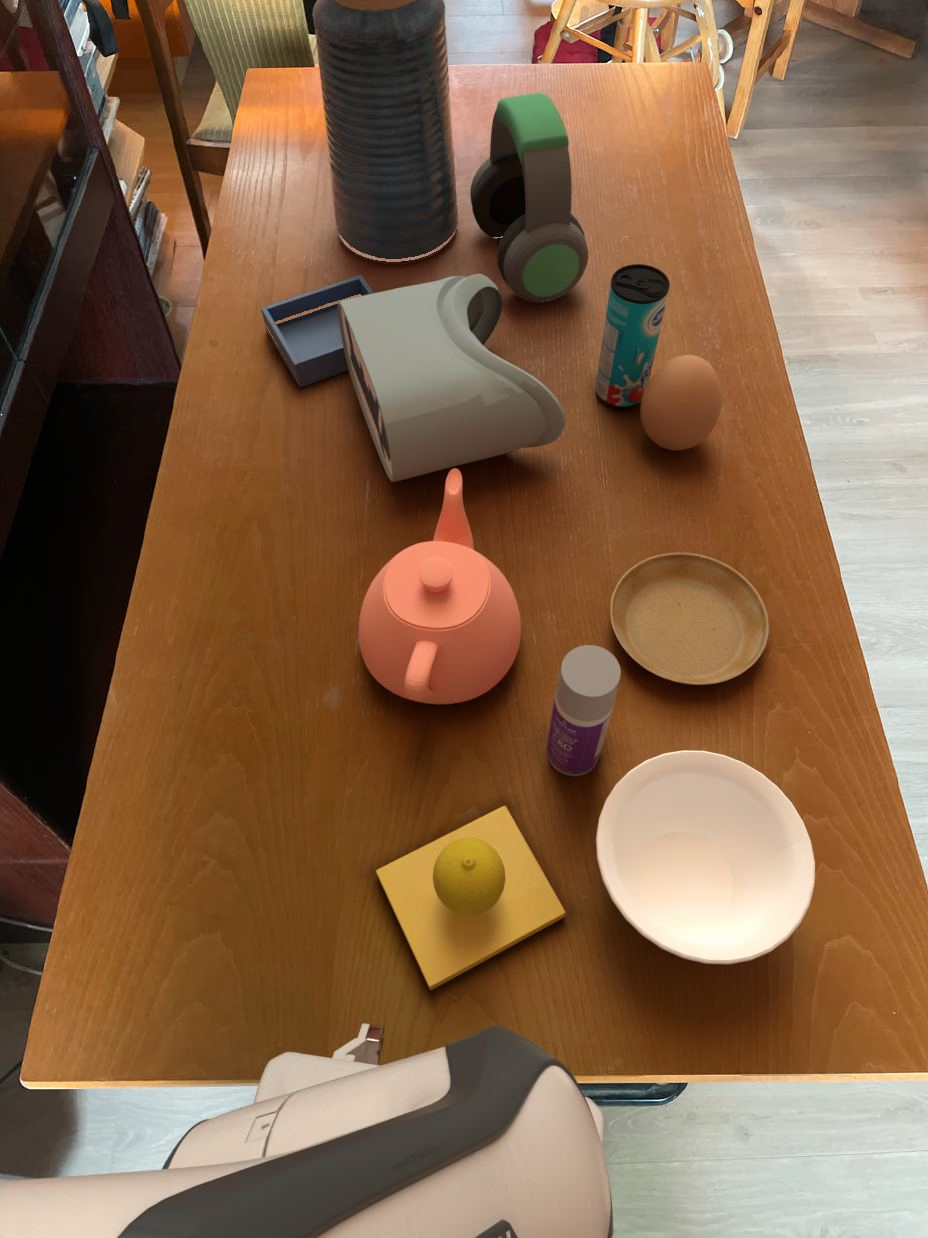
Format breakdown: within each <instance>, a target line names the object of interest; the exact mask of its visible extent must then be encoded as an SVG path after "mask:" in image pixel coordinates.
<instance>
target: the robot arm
mask: <svg viewBox="0 0 928 1238" xmlns="http://www.w3.org/2000/svg"><path fill="white" fill-rule="evenodd" d="M384 1034H385V1026H383V1025H378V1024H371V1023H365V1022H362V1024H361V1026H360V1028H359V1032H358V1035H357V1037H355V1038H353V1039H352V1040H350V1041H348V1042H347V1043H346V1044H344V1045H343V1046H341V1047H339V1048H338V1049H336V1050H335V1051H334V1052H333V1055H332V1057H326V1056H319V1055H313V1054H307V1053H302V1052H295V1051H285V1052H283V1053H281V1054H279V1055H277V1056H275V1057H273V1058H271V1059H270V1060H269V1061H268V1062H267V1064H266V1065H265V1066H264V1070H263V1072H262V1074H261V1077H260V1080H259V1082H258V1086H257V1089H256V1092H255V1095H254V1100H253V1103H252V1104H248V1105H245V1106H242V1107H239V1108H235V1109H233V1110H230V1111H228V1112H224V1113H222V1114H219V1115H217V1116H214V1117H212V1118H206V1119H203V1120H201V1121H199V1122H197V1123H195V1124H194V1125H192V1126H191V1127H190V1128H189V1129H188V1130H187V1131H186V1132H185V1133H184V1134H183V1135H182V1137H181V1138H180V1140H179V1141H178V1142H177V1144H175V1146H174V1148H173V1149H172V1150H171V1152H170V1154H169V1155H168V1156H167V1158H166V1160H165V1162H164V1164H163V1166H162V1168H161V1169H152V1170H135V1171H121V1172H110V1173H108V1172H107V1173H96V1174H82V1175H67V1176H56V1177H55V1176H54V1177H42V1178H41V1177H40V1178H27V1179H25V1178H24V1179H12V1180H11V1179H10V1180H0V1238H613V1235H614V1232H615V1231H614V1230H615V1228H614V1227H615V1225H614V1211H613V1202H612V1192H611V1191H612V1190H611V1183H610V1182H611V1181H610V1177H609V1171H608V1166H607V1161H606V1160H607V1159H606V1157H605V1151H604V1140H605V1115H604V1112H603V1110H602V1109H601V1108H600V1107H599V1106H598V1104H596V1103H595V1102H594V1101H593V1100H592V1099H591V1098H590V1097H587V1096H585V1094H584V1092H583V1090H582V1088H581V1087H580V1085H579V1083H578V1081H577V1080H576V1078H575V1076H574V1074H573V1073H572V1072H571V1071H570V1069H568V1067H567V1066H566V1065H565V1064H564V1063H563V1062H562V1061H560V1060H559V1059H558V1058H557V1057H555V1056H553V1055H552V1054H551V1053H550V1052H549V1051H547V1050H545V1049H544V1048H543V1047H541V1046H540V1045H538V1044H536V1043H535V1042H533V1041H531V1040H530V1039H529V1038H526V1037H524V1036H523V1035H520V1034H518V1033H517V1032H515V1031H513V1030H511V1029H508V1028H506V1027H504V1026H501V1025H499V1024H493V1025H490V1026H488V1027H485V1028H483V1029H479V1030H477V1031H475V1032H472V1033H469V1034H466V1035H464V1036H461V1037H458V1038H456V1039H453V1040H451V1041H447V1042H445V1046H442V1047H439V1048H434V1049H431V1050H428V1051H425V1052H421V1053H418V1054H414V1055H411V1056H408V1057H405V1058H401V1059H397V1060H395V1061H392V1062H388V1063H384V1064H381V1065H380V1064H379V1062H380V1059H381V1055H382V1051H383V1046H384V1040H385V1038H384Z"/></svg>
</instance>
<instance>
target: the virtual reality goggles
mask: <svg viewBox="0 0 928 1238" xmlns="http://www.w3.org/2000/svg"><path fill="white" fill-rule="evenodd" d="M337 309H338V319H339V326H340V332H341V338H342V343H343V348H344V352H345V356H346V360H347V364H348V368H349V370H348V371H349V375H350V379H351V381H352V386H353V388H354V391H355V394H356V397H357V400H358V403H359V405H360V409H361V411H362V414H363V417H364V419H365V422H366V425H367V427H368V431H369V433H370V436H371V439H372V441H373V444H374V447H375V449H376V452H377V454H378V457H379V459H380V462H381V464H382V467H383V469H384V471H385V473H386V475H387V478H388V479H389V481H390V482H391V483H396V482H399V481H404V480H408V479H411V478H414V477H419V476H422V475H426V474H430V473H433V472H438V471H441V470H445V469H449V468H454V467H458V466H461V465H466V464H470V463H473V462H474V463H475V462H478V461H483V460H485V459H489V458H493V457H497V456H501V455H504V454H507V453H508V454H509V453H510V452H514V451H518V450H520V449H524V448H525V449H526V448H535V447H536V448H537V447H542V446H545V445H549V444H552V443H554V442H555V441H557V440H558V439H559V438H560V437H561V435H562V433H563V431H564V428H565V426H566V415H565V411H564V409H563V407H562V404H561V403H560V401H559V400H558V398H557V397H556V396H555V395H554V393H553V392H552V391H551V390H550V389H549V388H548V387H547V386H546V385H545V384H544V383H543V382H542V381H540V379H538V378H537V377H534V376H533V375H532V374H530V373H529V372H527V371H525V370H523V369H522V368H520V367H519V366H516V365H514V364H513V363H511V362H509V361H507V360H506V359H503V358H502V357H500V356H498V355H497V354H495V353H493V352H491V351H490V350H488V348H486V347H485V345H486V343H487V342H488V340H489V339H490V337H491V336H492V334H493V332H494V330H495V328H496V327H497V325H498V323H499V321H500V318H501V315H502V311H503V298H502V295H501V293H500V291H499V289H498V287H497V285H496V283H494V282H493V281H492V280H491V279H490V278H489V277H488V276H486V275H484V274H482V273H474V274H471V275H469V276H463V275H454V276H448V277H444V278H442V279H438V280H435V281H430V282H423V283H418V284H413V285H408V286H401V287H397V288H393V289H387V290H383V291H379V292H374V293H373V294H369V295H364V296H359V297H355V298H350V299H346V300H341V301H338V306H337Z"/></svg>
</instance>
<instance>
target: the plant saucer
mask: <svg viewBox="0 0 928 1238" xmlns="http://www.w3.org/2000/svg"><path fill="white" fill-rule="evenodd" d="M768 615H769V613H768V611H767V608H766V606H765V603H764V601H763V599H762V597H761V595H760V594H759V592H758V591H757V589H756V588H755V587H754V585H753V584H752V583H751V582H750V581H749V580H748V579H747V578H746V577H745V576H744V574H741V572H738V571H737V570H736V569H735V568H734V567H732V566H730V565H728V564H726V563H724V562H723V561H720V560H718V559H716V558H713V557H711V556H708V555H703V554H698V553H695V552H694V553H693V552H667V553H661V554H657V555H654V556H650V557H647V558H646V559H644V560H641V561H639V562H638V563H636V564H634V565H633V566H632V567H630V568H629V569H628V570H627V571H626V572H625V573H624V574H623V575H622V576H621V578H620V579H619V580H618V582H617V583H616V586H615V587H614V589H613V592H612V594H611V598H610V604H609V616H610V618H609V619H610V623H611V627H612V629H613V632H614V634H615V637H616V639H617V641H618V642H619V644H620V646H621V647H622V649H623V650H624V651H625V652H626V653H627V655H629V657H631V659H632V660H633V661H635V662H636V663H637V664H638V665H639V666H641V667H642V668H644V669H645V670H647V671H648V672H650V673H652V674H654V675H656V676H658V677H660V678H662V679H665V680H668V681H671V682H676V683H679V684H685V685H697V686H701V685H702V686H704V685H705V686H706V685H715V684H718V683H723V682H727V681H729V680H732V679H735V678H736V677H739V676H740V675H742V674H743V673H745V672H746V671H748V670H749V669H750V668H751V667H752V666H753V665H754V664H756V662H757V661H758V659H759V658H760V657H761V656H762V654H763V652H764V650H765V649H766V646H767V643H768V639H769V633H770V625H769V623H770V622H769V616H768Z"/></svg>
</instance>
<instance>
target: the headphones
mask: <svg viewBox="0 0 928 1238" xmlns="http://www.w3.org/2000/svg"><path fill="white" fill-rule="evenodd" d="M498 100H499V99H498ZM569 144H570V142H569V137H568V132H567V128H566V126H565V123H564V121H563V118H562V116H561V114H560V112H559V110H558V108H557V107H556V105H555V104H554V101H552V99H551V98H550V97H549V96H548V95H547V94H545V93H543V92H533V93H527V94H521V95H515V96H509V97H503V98H501V99H500V100H499V101H498V102H497V105H496V109H495V111H494V113H493V118H492V123H491V130H490V144H489V145H490V146H489V157H488V158H487V159H486V160H485V161H484V162H483V163H482V164H481V165H480V166H479V168H478V169H477V171H476V172H475V174H474V175H473V178H472V181H471V184H470V193H469V196H470V204H471V208H472V214H473V216H474V219H475V221H476V224H477V225H478V227H479V229H480V230H481V231H482V232H483V233H484V234H485V235H486V236H488V237H490V238H491V237H501V236H503V237H502V238H497V239H496V240H497V241H499V244H498V247H497V253H496V254H497V255H496V263H497V268H498V270H499V273H500V276H501V277H502V279H503V281H504V282H505V284H506V285H507V286H509V288H510V289H511V291H512V292H513V293H514V294H515V295H516V296H517V297H518V298H520V299H522V300H524V301H527V302H530V303H531V302H532V303H547V302H551V301H555V300H557V299H559V298H561V297H563V296H565V295H566V294H568V293H569V292H570V291H572V290H573V289H574V288H575V287H576V285H577V284H578V283H579V282H580V280H581V279H582V277H583V275H584V273H585V271H586V269H587V266H588V262H589V248H588V244H587V243H588V242H587V240H586V237H585V232H584V230H583V228H582V225H581V224H580V222H579V220H578V219H577V218H576V217H575V216H574V215H573V214H572V194H573V193H572V192H573V191H572V189H573V188H572V168H571V167H572V166H571V159H570V152H569V151H570V150H569ZM558 297H559V298H558ZM556 298H557V299H556ZM553 299H554V300H553ZM548 300H550V301H548ZM543 301H544V302H543Z"/></svg>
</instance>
